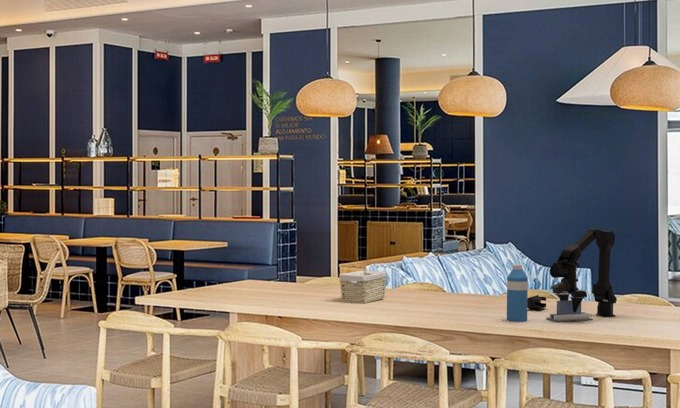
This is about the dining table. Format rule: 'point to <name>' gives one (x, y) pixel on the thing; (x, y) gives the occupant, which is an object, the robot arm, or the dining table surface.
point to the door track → (569, 317)
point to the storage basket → (362, 286)
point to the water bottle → (517, 295)
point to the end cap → (536, 303)
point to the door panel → (567, 307)
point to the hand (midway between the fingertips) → (569, 311)
